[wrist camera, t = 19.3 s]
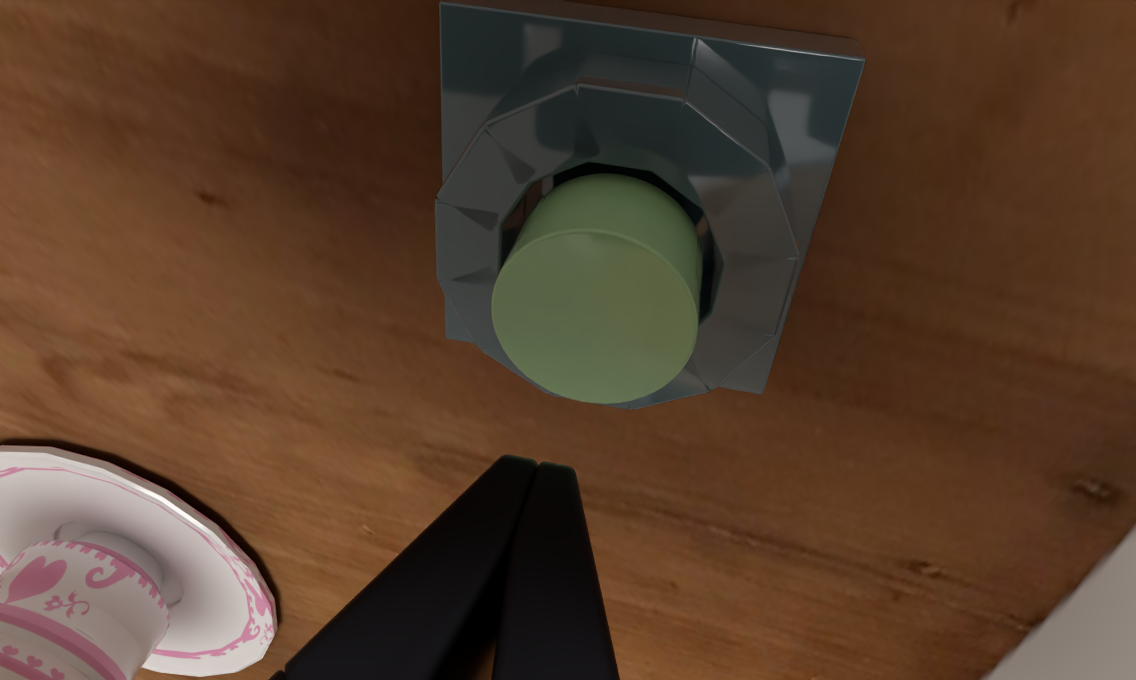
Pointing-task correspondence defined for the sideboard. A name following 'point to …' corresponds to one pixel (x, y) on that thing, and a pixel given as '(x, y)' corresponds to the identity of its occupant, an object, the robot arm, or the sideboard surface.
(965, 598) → the sideboard surface
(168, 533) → the teacup
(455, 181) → the button base
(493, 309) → the green short cylinder
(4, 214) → the sideboard surface
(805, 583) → the sideboard surface
